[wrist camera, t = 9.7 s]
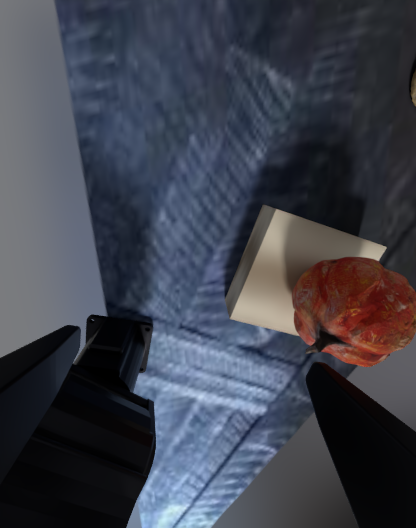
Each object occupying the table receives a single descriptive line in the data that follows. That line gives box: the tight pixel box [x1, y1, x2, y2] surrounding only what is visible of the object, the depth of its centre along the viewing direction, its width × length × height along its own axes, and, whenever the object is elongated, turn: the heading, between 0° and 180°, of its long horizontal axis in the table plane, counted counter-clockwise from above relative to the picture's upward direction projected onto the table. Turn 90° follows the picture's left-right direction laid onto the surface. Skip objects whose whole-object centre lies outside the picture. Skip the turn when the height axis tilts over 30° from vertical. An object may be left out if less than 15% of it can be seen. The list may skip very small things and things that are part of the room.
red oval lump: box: [292, 257, 416, 367], centre depth 16 cm, size 7×7×10 cm
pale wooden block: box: [225, 204, 387, 336], centre depth 20 cm, size 10×10×4 cm
